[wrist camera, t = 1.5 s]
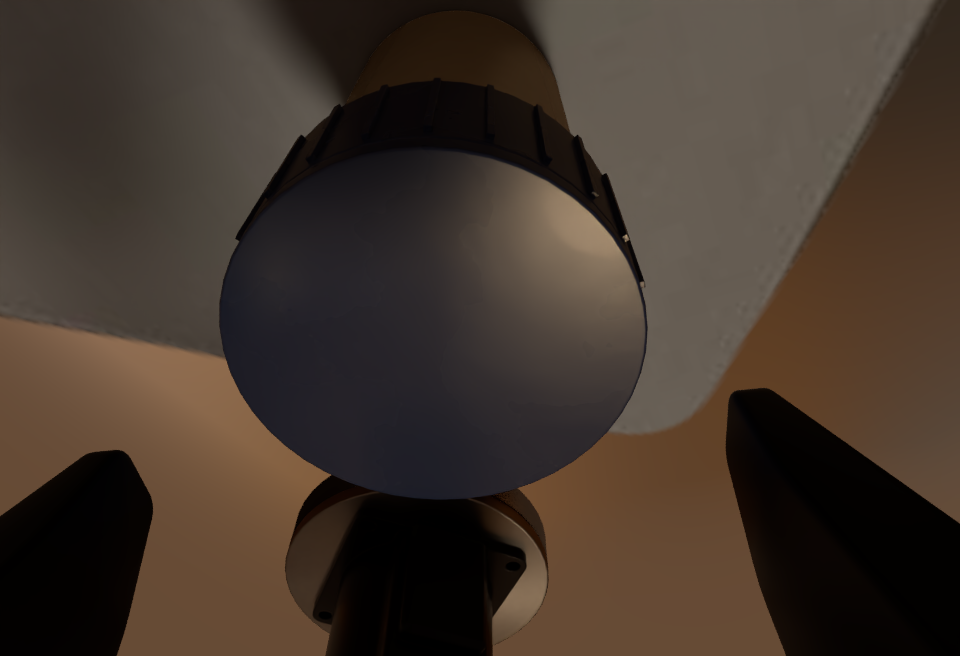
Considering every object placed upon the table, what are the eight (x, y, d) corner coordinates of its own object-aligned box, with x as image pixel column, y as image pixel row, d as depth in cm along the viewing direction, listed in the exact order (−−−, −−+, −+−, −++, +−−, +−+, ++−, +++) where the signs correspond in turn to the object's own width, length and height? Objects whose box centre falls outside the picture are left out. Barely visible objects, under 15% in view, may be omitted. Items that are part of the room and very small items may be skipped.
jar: (511, 240, 21) (525, 499, 13) (330, 172, 20) (221, 408, 12) (598, 62, 18) (685, 247, 10) (393, -28, 17) (307, 98, 9)
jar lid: (531, 429, 15) (539, 542, 13) (232, 332, 14) (178, 438, 11) (689, 164, 12) (740, 248, 9) (320, 8, 11) (272, 59, 8)
